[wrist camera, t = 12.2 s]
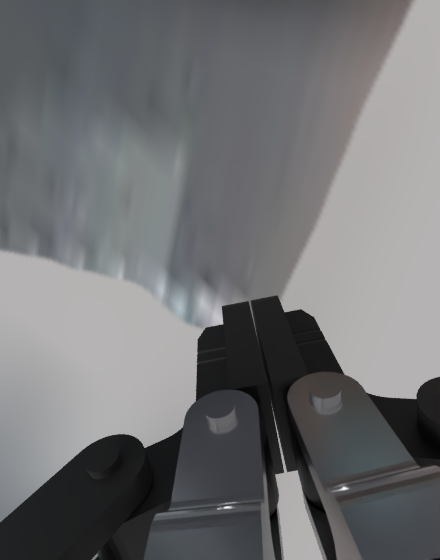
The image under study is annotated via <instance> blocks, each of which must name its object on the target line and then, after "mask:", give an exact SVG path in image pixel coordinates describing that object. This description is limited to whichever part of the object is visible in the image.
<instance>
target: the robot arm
mask: <svg viewBox="0 0 440 560" xmlns="http://www.w3.org/2000/svg"><path fill="white" fill-rule="evenodd" d="M251 306H252V311H253V317H254V322H255V327H256V332H255V327H254V323H253V319H252V314H251V310H250V306H249V302H248V301H246V302H241V303H236V304H231V305H226V306H222V313H223V325H218V326H212V327H207V328H205V330H204V331H203V333H202V334H201V336H200V337H199V339H198V351H197V352H198V354H197V364H198V365H197V386H196V402H195V403H194V404H193V405H192V406H191V407H190V408H189V410H188V411H187V413H186V416H185V420H184V426H183V428H182V429H181V430H179V431H178V432H177V433H175V434H174V435H172V436H170V437H168V438H166V439H164V440H162V441H160V442H158V443H155V444H153V445H151V446H148V447H147V448H144V446H143V444H142V443H141V442H140V441H139V440H138V439H137V438H135V437H133V436H130V435H125V434H118V435H112V436H108V437H105V438H102V439H100V440H98V441H96V442H94V443H92V444H90V445H89V446H87V447H86V448H85V449H83V450H82V451H81V452H80V453H79V454H78V455H76V456H75V457H74V458H73V459H72V460H71V461H70V462H68V463H67V464H66V465H65V466H64V467H63V468H62V469H61V470H60V471H58V472H57V473H56V474H55V475H54V476H53V477H51V478H50V479H49V480H48V481H47V482H46V483H45V484H44V485H42V486H41V487H40V488H39V489H38V490H37V491H36V492H35V493H33V494H32V495H31V496H30V497H29V498H28V499H27V500H25V501H24V502H23V503H22V504H21V505H20V506H19V507H17V508H16V509H15V510H14V511H13V512H12V513H11V514H10V515H8V517H6V518H5V519H4V520H3V521H2V522H0V560H91V559H92V558H93V557H94V556H95V555H96V554H98V557H97V558H96V559H95V560H284V555H283V546H282V536H281V526H280V517H279V510H278V505H277V504H278V498H279V493H278V487H277V482H276V477H275V474H280V473H284V470H283V464H282V459H281V453H280V448H279V443H278V438H277V432H276V427H275V421H276V425H277V430H278V434H279V438H280V443H281V447H282V451H283V455H284V460H285V464H286V469H287V472H290V471H295V470H298V474H299V477H300V481H301V485H302V491H303V497H304V503H305V507H306V511H307V513H308V516H309V519H310V522H311V525H312V528H313V531H314V534H315V537H316V539H317V543H318V546H319V549H320V551H321V554H322V557H323V560H440V377H437V378H434V379H431V380H429V381H427V382H425V383H424V384H423V385H422V386H421V387H420V388H419V390H418V393H417V399H400V398H386V397H380V396H375V395H372V394H368V393H366V392H365V390H364V389H363V387H362V386H361V385H360V384H359V383H358V382H357V381H356V380H354V379H353V378H351V377H349V376H346V375H344V373H343V371H342V369H341V367H340V366H339V364H338V362H337V360H336V358H335V356H334V354H333V353H332V350H331V348H330V347H329V345H328V343H327V341H326V340H325V337H324V335H323V333H322V332H321V331H320V328H319V326H318V324H317V322H316V320H315V318H314V317H312V316H311V315H309V314H308V313H306V312H304V311H303V310H301V309H300V310H296V311H290V312H285V313H284V310H283V308H282V305H281V303H280V300H279V298H278V296H272V297H267V298H261V299H256V300H251ZM256 333H257V336H256ZM257 338H258V340H257ZM258 343H259V344H258ZM271 404H272V405H271ZM272 408H273V410H272ZM273 412H274V416H273ZM274 417H275V421H274Z"/></svg>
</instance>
